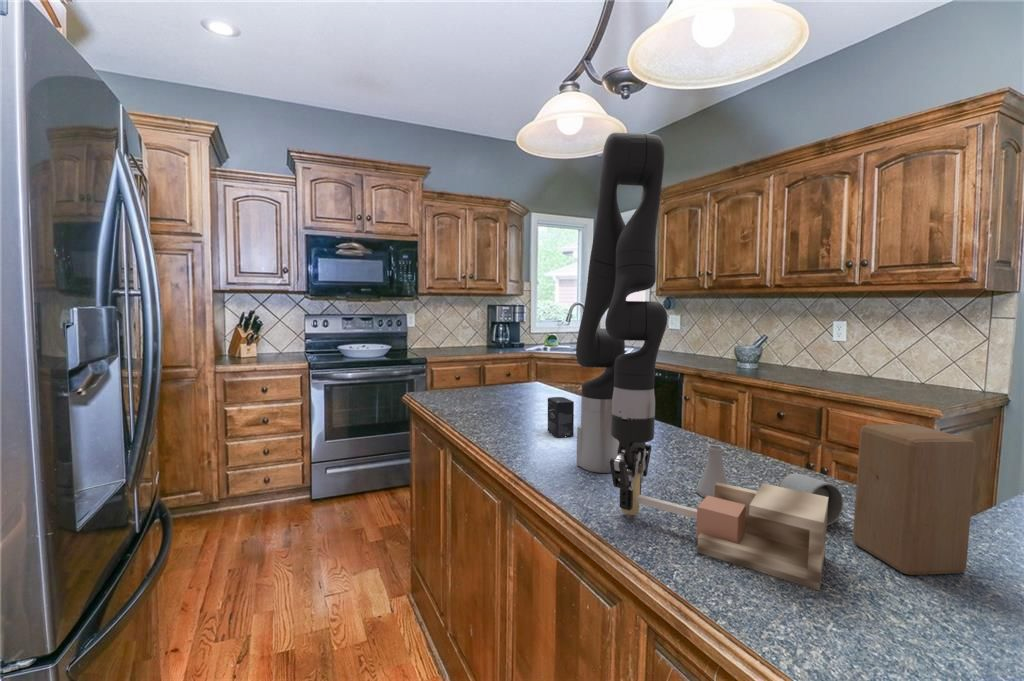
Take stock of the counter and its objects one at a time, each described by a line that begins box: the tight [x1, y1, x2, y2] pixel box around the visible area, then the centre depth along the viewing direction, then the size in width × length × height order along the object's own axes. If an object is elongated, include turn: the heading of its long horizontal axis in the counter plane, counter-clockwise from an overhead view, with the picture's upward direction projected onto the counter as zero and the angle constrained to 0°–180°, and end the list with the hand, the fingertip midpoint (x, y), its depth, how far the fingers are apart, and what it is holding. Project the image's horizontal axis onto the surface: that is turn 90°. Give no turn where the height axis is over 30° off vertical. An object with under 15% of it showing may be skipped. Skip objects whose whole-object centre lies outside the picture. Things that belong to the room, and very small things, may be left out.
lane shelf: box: [696, 482, 828, 591], centre depth 72 cm, size 16×11×10 cm
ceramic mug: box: [778, 473, 844, 527], centre depth 86 cm, size 11×8×8 cm
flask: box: [694, 444, 730, 498], centre depth 96 cm, size 7×7×10 cm
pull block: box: [620, 470, 746, 544], centre depth 80 cm, size 20×6×7 cm, turn 53°
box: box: [547, 396, 575, 438], centre depth 141 cm, size 8×6×11 cm
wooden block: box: [852, 423, 977, 576], centre depth 71 cm, size 10×10×20 cm
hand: (630, 504), depth 85 cm, fingers closed on pull block, 3 cm apart
